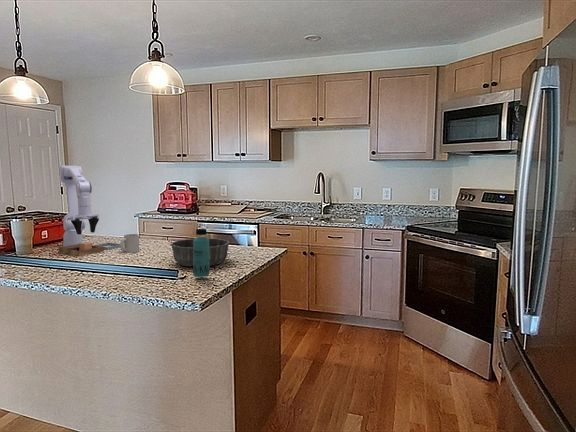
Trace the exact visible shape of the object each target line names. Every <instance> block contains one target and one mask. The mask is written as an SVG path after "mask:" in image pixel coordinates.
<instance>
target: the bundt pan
mask: <svg viewBox="0 0 576 432" xmlns="http://www.w3.org/2000/svg"><path fill="white" fill-rule="evenodd" d="M207 238H208V237H207ZM194 239H195V238H186V239H178V240H175V241H173V242H172V241H171V243H170V246H171V249H172V255H173V259H174V261H175V262H176V263H177V264H179V265H180V266H182V267H193V240H194ZM208 239H209V257H210V263H209V267H213V266H214V265H216V266H217V265H219V264H221V263H223V262H224V261H226V259H227V257H228V251H229V245H230V241H229V240H225V239H222V238H221V239H220V238H208Z"/></svg>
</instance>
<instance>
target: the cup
mask: <svg viewBox="0 0 576 432" xmlns="http://www.w3.org/2000/svg"><path fill="white" fill-rule="evenodd" d="M119 244H120V247H121V248H120V250H122V252H124V253H130V254H139V252H140V235H139V234H137V233H131V234H129V233H128V234H124V235H123V238H121V240H120V243H119Z"/></svg>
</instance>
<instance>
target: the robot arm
mask: <svg viewBox="0 0 576 432" xmlns="http://www.w3.org/2000/svg"><path fill="white" fill-rule="evenodd" d="M59 178H60V179H59V180H60V182H62V183H64V187H65V192H66V193H65V194H66V202H67V210H68V211H67V212H68V213H67V214H66V215H64V217H63V218H62V219H63V220H62V221H63V223H62V226H63V230H64V233H63V236H62V237H63V238H62V239H63V246H69V245H75V244H79V243H84V241H83V238H84V237H83V231H84V230H85V228H86V220H88V223H89V231H90V233H91V234H92V233H95V232H96V227H97V225H98V222H99V221H100V214H99V213H92V200H91V199H92V198H91V196H92V195H91V193H92V192H93V185H92V182H91V181H88V180H87V179H86V178H85V176H84V175H83V168H82V167H81V165H63V164H61V165H60V166H59ZM63 246H61V247H63Z"/></svg>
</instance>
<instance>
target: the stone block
mask: <svg viewBox="0 0 576 432" xmlns="http://www.w3.org/2000/svg"><path fill="white" fill-rule="evenodd" d="M92 245H93V242H88V241H85V242H84V241H83V243H79V251H83V250H88V249H92Z"/></svg>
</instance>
